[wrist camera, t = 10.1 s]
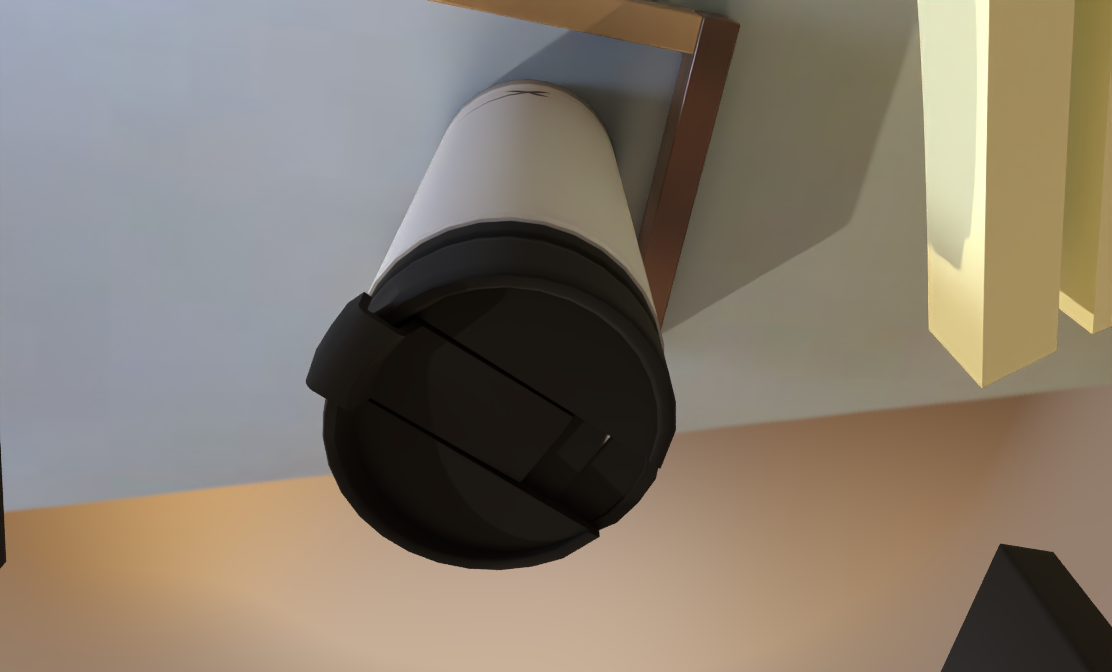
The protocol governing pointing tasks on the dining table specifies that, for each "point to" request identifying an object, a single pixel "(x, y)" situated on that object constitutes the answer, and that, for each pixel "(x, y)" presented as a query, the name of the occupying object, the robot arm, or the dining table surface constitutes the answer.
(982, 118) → the slatted curved stool
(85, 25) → the dining table surface
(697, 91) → the frame
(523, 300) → the travel mug
